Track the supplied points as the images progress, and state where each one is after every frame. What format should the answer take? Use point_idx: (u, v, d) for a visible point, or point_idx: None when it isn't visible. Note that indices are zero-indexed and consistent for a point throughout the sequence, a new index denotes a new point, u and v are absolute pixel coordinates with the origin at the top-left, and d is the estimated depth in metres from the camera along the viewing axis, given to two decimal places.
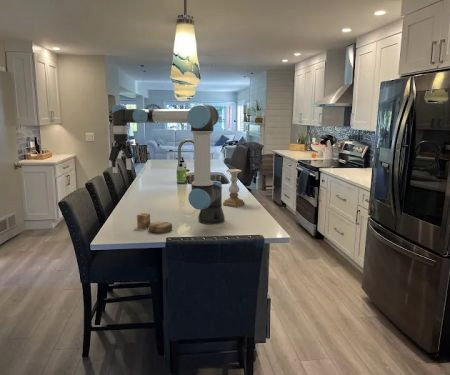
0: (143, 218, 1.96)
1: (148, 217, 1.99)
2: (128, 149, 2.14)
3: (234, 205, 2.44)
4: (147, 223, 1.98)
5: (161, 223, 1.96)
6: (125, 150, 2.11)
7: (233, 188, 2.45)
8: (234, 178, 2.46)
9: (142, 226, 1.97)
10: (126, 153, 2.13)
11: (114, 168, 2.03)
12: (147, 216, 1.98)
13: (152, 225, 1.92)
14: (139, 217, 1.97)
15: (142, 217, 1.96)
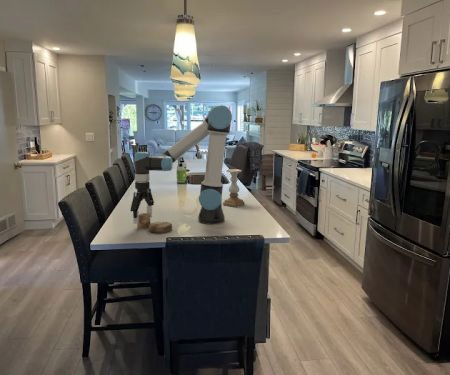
0: (143, 218, 1.96)
1: (148, 217, 1.99)
2: (149, 196, 2.03)
3: (234, 205, 2.44)
4: (147, 223, 1.98)
5: (161, 223, 1.96)
6: (146, 198, 2.00)
7: (233, 188, 2.45)
8: (234, 178, 2.45)
9: (142, 226, 1.97)
10: (147, 200, 2.02)
11: (135, 219, 1.92)
12: (147, 216, 1.98)
13: (152, 225, 1.92)
14: (139, 217, 1.97)
15: (142, 217, 1.96)
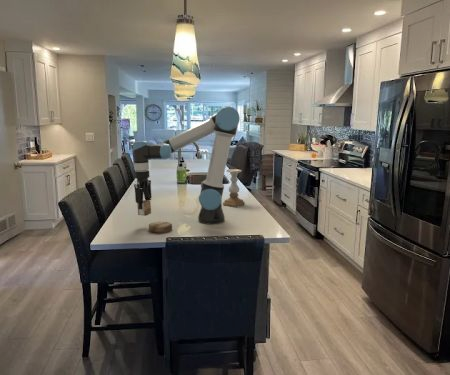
0: (144, 205, 1.95)
1: (148, 204, 1.97)
2: (148, 188, 2.00)
3: (234, 205, 2.44)
4: (148, 210, 1.97)
5: (161, 223, 1.96)
6: (145, 189, 1.97)
7: (233, 188, 2.45)
8: (234, 178, 2.45)
9: None
10: (145, 193, 1.98)
11: (141, 210, 1.95)
12: (147, 203, 1.96)
13: (152, 225, 1.92)
14: None
15: None
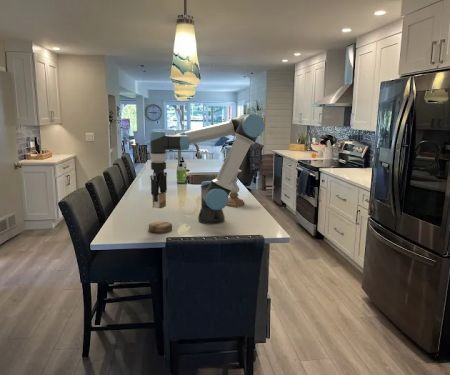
0: (159, 198, 1.88)
1: (164, 196, 1.91)
2: (164, 181, 1.94)
3: (234, 205, 2.44)
4: (163, 203, 1.90)
5: (161, 223, 1.96)
6: (161, 181, 1.91)
7: (233, 188, 2.45)
8: (234, 178, 2.46)
9: None
10: (161, 185, 1.92)
11: (156, 203, 1.89)
12: (163, 195, 1.90)
13: (152, 225, 1.92)
14: None
15: None
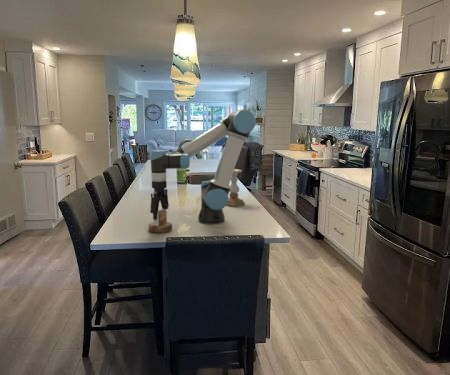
0: (160, 216, 1.90)
1: (164, 214, 1.93)
2: (165, 197, 1.97)
3: (234, 205, 2.44)
4: (163, 220, 1.92)
5: None
6: (162, 198, 1.93)
7: (233, 188, 2.45)
8: (234, 178, 2.46)
9: None
10: (162, 202, 1.95)
11: (155, 220, 1.89)
12: (163, 213, 1.92)
13: (152, 225, 1.92)
14: None
15: None
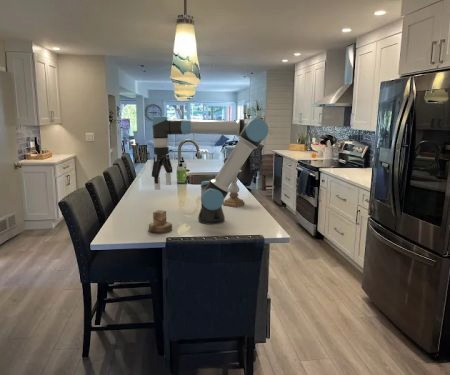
0: (160, 216, 1.90)
1: (164, 214, 1.93)
2: (168, 163, 1.98)
3: (234, 205, 2.44)
4: (163, 220, 1.92)
5: None
6: (165, 164, 1.95)
7: (233, 188, 2.45)
8: (234, 178, 2.46)
9: (158, 223, 1.91)
10: (166, 167, 1.97)
11: (156, 184, 1.87)
12: (163, 213, 1.92)
13: (152, 225, 1.92)
14: (155, 214, 1.91)
15: (158, 214, 1.90)
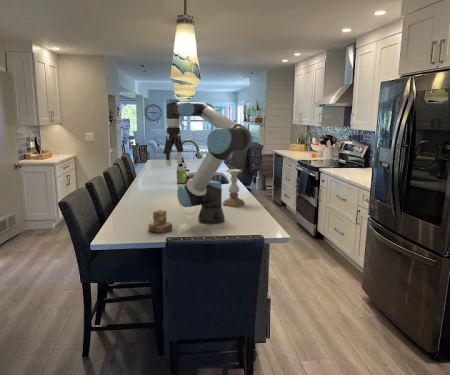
0: (160, 216, 1.90)
1: (164, 214, 1.93)
2: (179, 143, 2.16)
3: (234, 205, 2.44)
4: (163, 220, 1.92)
5: None
6: (177, 143, 2.13)
7: (233, 188, 2.45)
8: (234, 178, 2.46)
9: (158, 223, 1.91)
10: (177, 146, 2.15)
11: (168, 161, 2.05)
12: (163, 213, 1.92)
13: (152, 225, 1.92)
14: (155, 214, 1.91)
15: (158, 214, 1.90)
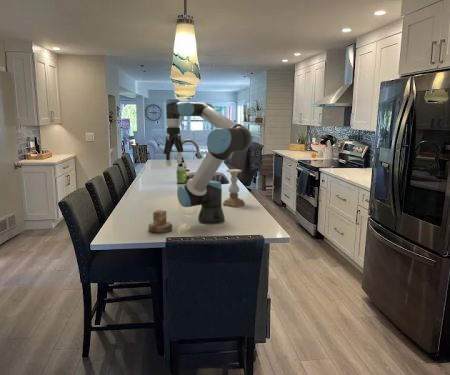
0: (160, 216, 1.90)
1: (164, 214, 1.93)
2: (179, 143, 2.16)
3: (234, 205, 2.44)
4: (163, 220, 1.92)
5: None
6: (177, 143, 2.13)
7: (233, 188, 2.45)
8: (234, 178, 2.45)
9: (158, 223, 1.91)
10: (177, 146, 2.15)
11: (168, 161, 2.05)
12: (163, 213, 1.92)
13: (152, 225, 1.92)
14: (155, 214, 1.91)
15: (158, 214, 1.90)
